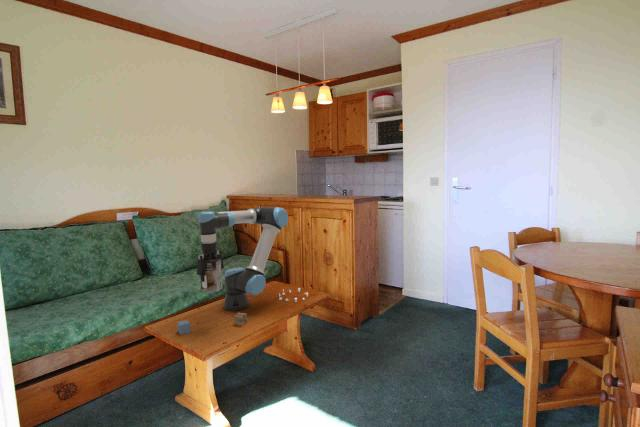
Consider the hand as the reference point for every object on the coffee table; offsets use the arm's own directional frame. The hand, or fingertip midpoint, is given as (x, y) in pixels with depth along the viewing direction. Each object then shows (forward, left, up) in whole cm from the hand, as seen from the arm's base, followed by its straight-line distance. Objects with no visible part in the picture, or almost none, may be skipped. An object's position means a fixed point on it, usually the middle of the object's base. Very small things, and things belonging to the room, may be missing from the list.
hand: (211, 285), depth 192 cm
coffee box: (0, 0, -3) cm, 3 cm away
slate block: (+12, -9, -23) cm, 27 cm away
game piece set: (-57, +8, -23) cm, 62 cm away
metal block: (-10, +9, -23) cm, 27 cm away
